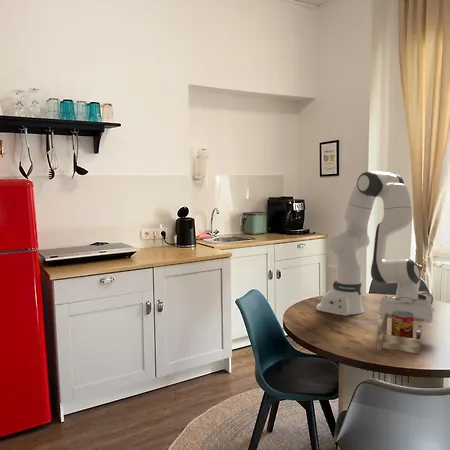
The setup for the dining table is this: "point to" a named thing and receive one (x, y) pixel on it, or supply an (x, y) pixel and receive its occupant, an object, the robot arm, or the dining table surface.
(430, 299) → the tin
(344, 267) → the robot arm
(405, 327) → the canned food
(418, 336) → the bookend
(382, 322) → the shelf wall
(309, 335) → the dining table surface
